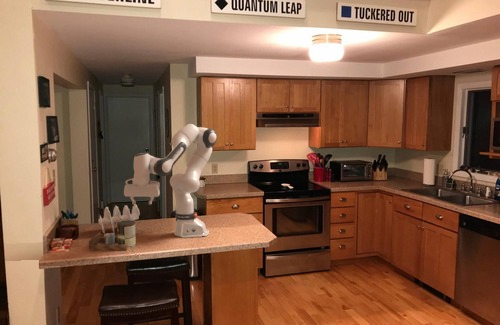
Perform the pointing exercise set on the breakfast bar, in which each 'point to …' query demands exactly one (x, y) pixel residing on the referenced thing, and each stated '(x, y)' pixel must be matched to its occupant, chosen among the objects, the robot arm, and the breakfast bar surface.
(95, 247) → the brown tray
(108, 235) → the pusher
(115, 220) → the white spiky piece
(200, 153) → the robot arm
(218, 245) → the breakfast bar surface
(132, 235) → the coffee can
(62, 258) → the breakfast bar surface
